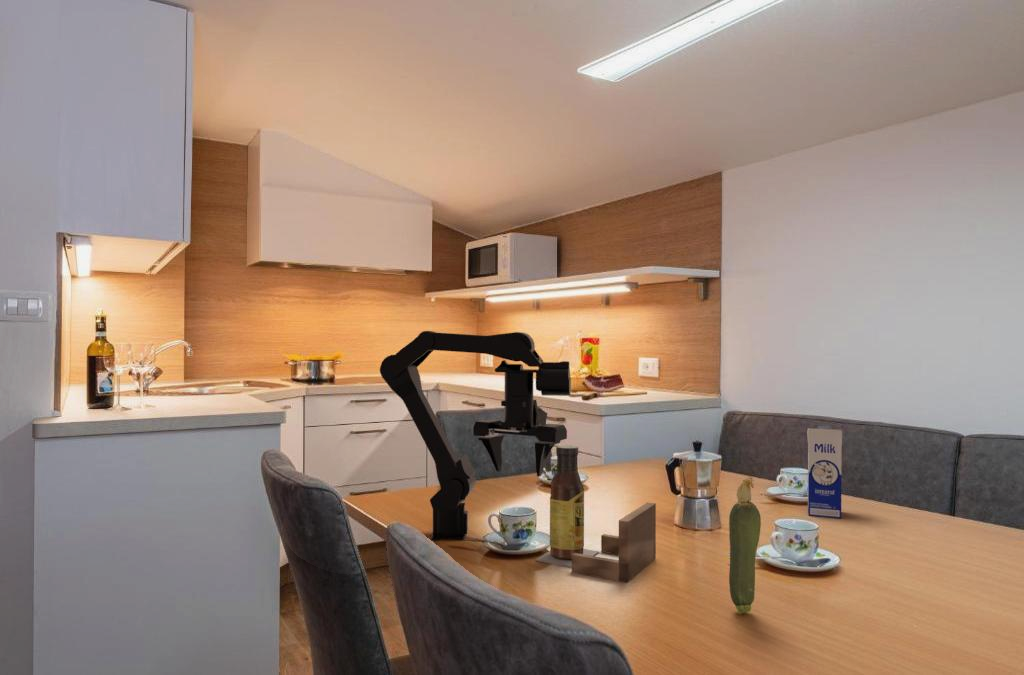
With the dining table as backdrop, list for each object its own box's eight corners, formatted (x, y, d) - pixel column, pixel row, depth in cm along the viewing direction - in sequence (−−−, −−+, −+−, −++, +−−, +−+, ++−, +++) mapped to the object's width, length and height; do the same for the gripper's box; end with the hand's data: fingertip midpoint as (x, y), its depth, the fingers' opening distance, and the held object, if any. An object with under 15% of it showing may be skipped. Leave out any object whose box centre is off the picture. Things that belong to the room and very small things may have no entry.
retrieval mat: (535, 561, 125) (535, 559, 125) (560, 546, 133) (560, 544, 133) (576, 568, 121) (576, 566, 121) (598, 553, 129) (598, 551, 129)
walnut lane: (571, 572, 119) (571, 513, 119) (603, 549, 131) (603, 496, 131) (627, 582, 114) (627, 521, 114) (655, 558, 126) (655, 503, 126)
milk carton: (807, 515, 157) (807, 427, 157) (806, 508, 163) (807, 423, 163) (842, 518, 154) (842, 428, 154) (840, 511, 161) (840, 425, 161)
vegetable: (724, 606, 104) (724, 472, 104) (752, 605, 104) (752, 472, 104) (736, 618, 100) (736, 478, 100) (765, 617, 100) (766, 478, 100)
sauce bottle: (582, 562, 123) (582, 450, 123) (547, 559, 124) (547, 448, 124) (585, 550, 130) (586, 444, 130) (552, 548, 131) (552, 443, 131)
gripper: (578, 394, 140) (578, 471, 140) (499, 390, 150) (499, 463, 150) (554, 398, 131) (554, 481, 131) (471, 394, 140) (470, 471, 140)
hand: (518, 473), depth 138 cm, fingers open, 9 cm apart
